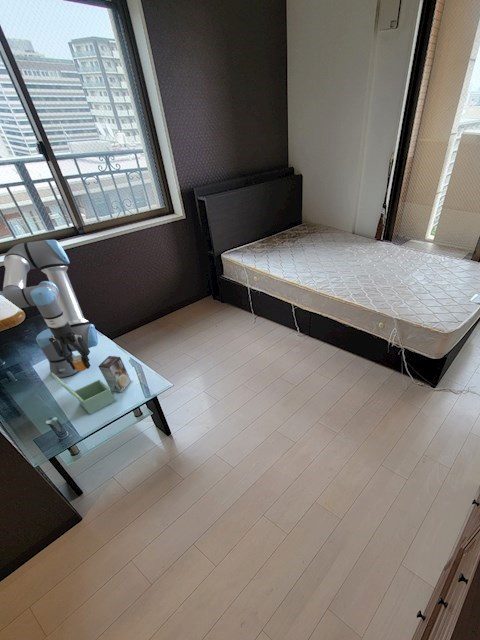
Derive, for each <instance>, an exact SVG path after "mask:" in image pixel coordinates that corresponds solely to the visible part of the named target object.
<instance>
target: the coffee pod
mask: <svg viewBox="0 0 480 640" xmlns="http://www.w3.org/2000/svg"><path fill="white" fill-rule="evenodd" d="M81 357H82V356H81V354H78V355H75V356H74V357H72V358H71V359H70V361H71V362H72V363H73V365H74V367H75V368H76V370H77V371H79V372H83V371H86V370H88V369H87V368H86V366H85V364H84V362H83V360H82V359H81Z"/></svg>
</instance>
